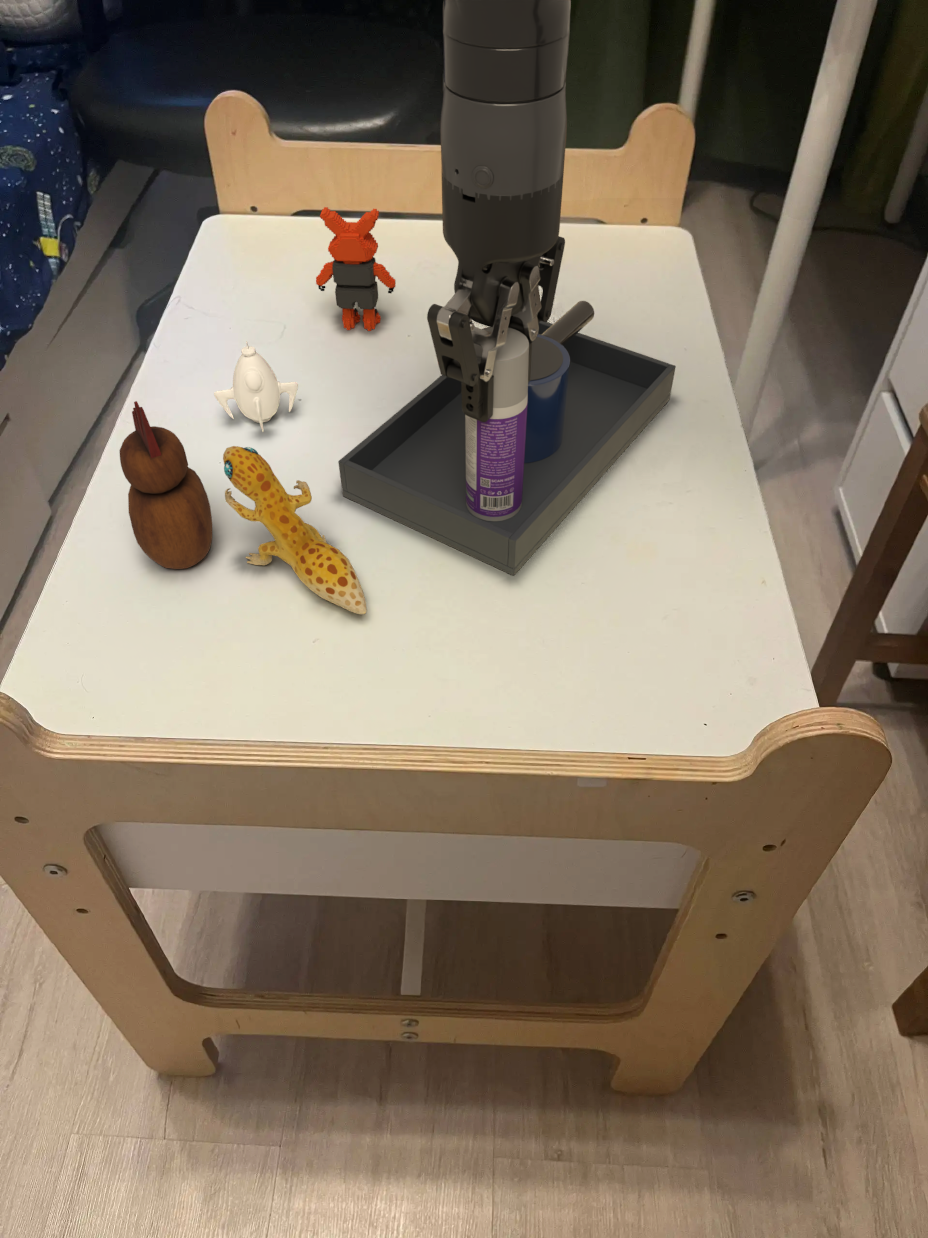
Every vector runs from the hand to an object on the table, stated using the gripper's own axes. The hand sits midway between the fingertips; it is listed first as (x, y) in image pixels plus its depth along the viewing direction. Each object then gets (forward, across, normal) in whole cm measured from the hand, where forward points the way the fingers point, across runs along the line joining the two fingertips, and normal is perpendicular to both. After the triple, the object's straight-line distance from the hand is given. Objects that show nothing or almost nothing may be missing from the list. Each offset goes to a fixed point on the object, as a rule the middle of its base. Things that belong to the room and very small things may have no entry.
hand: (496, 398), depth 68 cm
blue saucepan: (+10, -12, -3) cm, 17 cm away
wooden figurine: (+11, +18, -18) cm, 28 cm away
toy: (+11, +14, -7) cm, 19 cm away
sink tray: (+11, -8, -3) cm, 14 cm away
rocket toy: (+11, +1, -25) cm, 28 cm away
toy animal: (+11, -18, -28) cm, 35 cm away
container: (+11, 0, 0) cm, 11 cm away
